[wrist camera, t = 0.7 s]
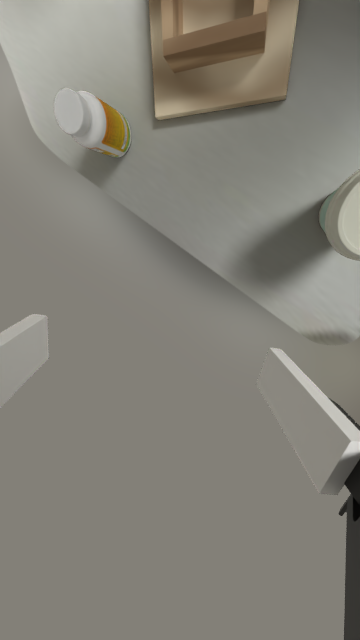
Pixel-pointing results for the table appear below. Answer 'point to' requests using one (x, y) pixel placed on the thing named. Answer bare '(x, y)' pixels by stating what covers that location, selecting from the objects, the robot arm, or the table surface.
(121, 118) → the supplement bottle
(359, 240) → the coffee cup
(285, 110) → the table surface
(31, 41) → the table surface
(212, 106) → the birch rack
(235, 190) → the table surface
